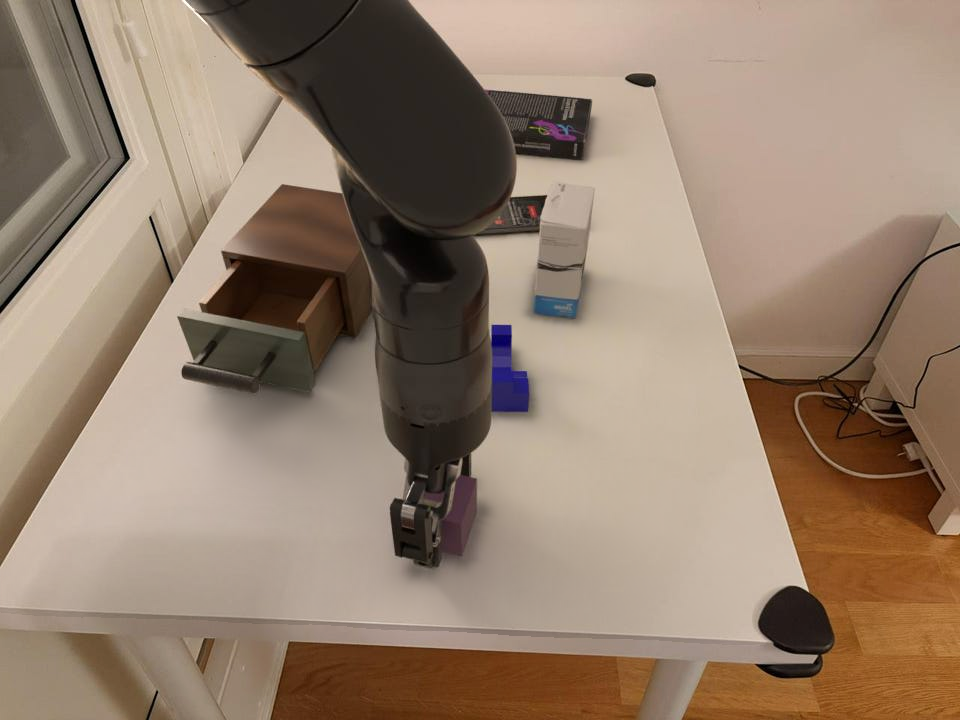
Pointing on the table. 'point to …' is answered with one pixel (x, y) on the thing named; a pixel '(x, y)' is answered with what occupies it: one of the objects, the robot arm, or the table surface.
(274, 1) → the robot arm
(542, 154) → the box
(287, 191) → the cabinet
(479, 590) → the table surface
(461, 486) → the block
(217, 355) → the drawer
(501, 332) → the cable holder
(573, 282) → the ink box
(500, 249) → the table surface
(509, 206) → the smartphone
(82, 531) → the table surface
